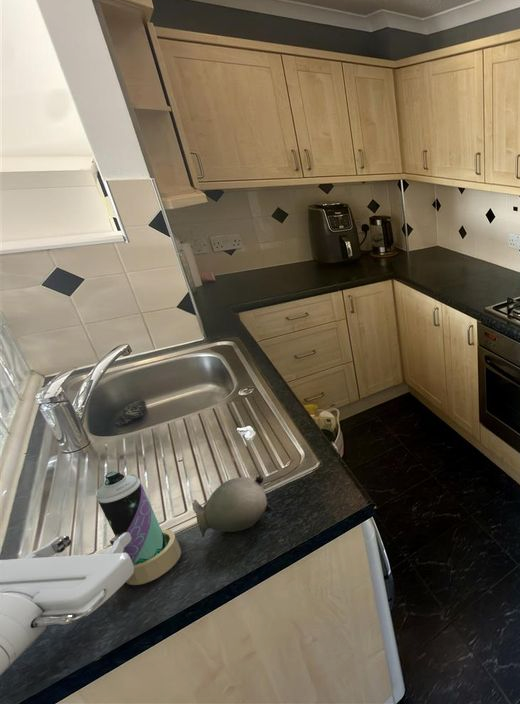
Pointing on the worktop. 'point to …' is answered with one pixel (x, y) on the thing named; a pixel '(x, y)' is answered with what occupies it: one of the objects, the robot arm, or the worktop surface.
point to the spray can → (131, 515)
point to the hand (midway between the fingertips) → (95, 537)
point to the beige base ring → (157, 562)
